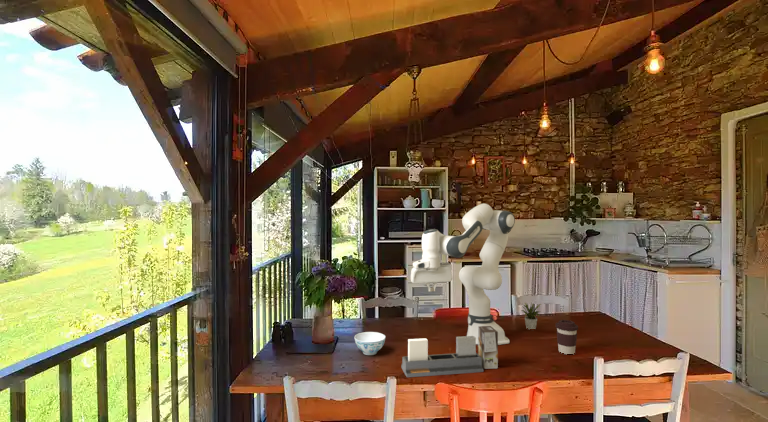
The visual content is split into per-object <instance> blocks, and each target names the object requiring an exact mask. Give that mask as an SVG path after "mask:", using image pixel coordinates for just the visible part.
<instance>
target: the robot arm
mask: <svg viewBox="0 0 768 422" xmlns="http://www.w3.org/2000/svg"><path fill="white" fill-rule="evenodd" d="M515 222H516V218H515V216H514V214H513V212H511V211H508V210H496V209H495V210H493V208H492V206H490V205H489V204H488V203H480V204H478V205H476V206H474V207H472V208H471V209H470V210H469V211H468V212H466V213H465V214H464V215H463V217H462V219H461V224H462V227H463V228H464V232H463V233H462V234H460V235H456V236H455V235H446V234H443V233H442V232H440V231H439V230H438V229H436V228H433V229H432V228H431V229H426V230H424V231H423V233H422V236H421V250H422V253H421V259H419V260H416V261H414V262H412V268H411V271H410V282H411V283H412V284H414V285H417V284H425V285H426V287H427V291H428V293H434V292H436V287H437V286H438V283H444V282H445V283H448V282H451V281H452V280H453V273H452V270H453V266H452V264H451V263H450V262H447V261H446V262H441V255H443V256H449V257H453V258H459V259H460V258H462V257H463V256H465V254H466V253H467V251H468V249H469V248H470V246H471V245H472V243H473V242H474V241H475V240H476V239H477V238H478V237H479V235H480V234H481V233H482V231H483V230H488V231H489V235H488V236H487V238H486V240H485V242H484V244H483V246H482V248H481V249H480V252H479V258H480V260H481V262H482V263H481V266H474V265H467V266H466V265H465V266H463V267H462V268H461V269H459V273H458V279H459V281H460V282H461V284H462V285H463V286H464V288H465V291H466V294H467V298H468V313H467V324H468V325H467V326H468V327H467V332H466V336H474V337H476V345H478V326H491V327H492V328H494V329H495V330H496V331H497V332H498V346H500V345H506V344H510V339H509V338H508V337H507V336H506V333H505V331H504V329H503V328H502V327H501V326H500V325H499V324H498V323H496V321H497V319H498V317H497V316H496V315H493V314H491V299H490V298H489V296H488V295H487V294H486V292H485V290H486V291H494V290H495V291H496V290H498V289H499V288H501V286H502V283H503V276H502V275H501V273H500V270H499V264H500V261H501V259H502V257H503V255H504V252H505V250H506V247H507V245H508V240H509V233H510V232H511V230H512V229H513V227H514V226H515ZM431 284H433V286H432V287H430V285H431Z"/></svg>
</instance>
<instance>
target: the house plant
mask: <svg viewBox="0 0 768 422" xmlns="http://www.w3.org/2000/svg"><path fill="white" fill-rule="evenodd" d="M534 304H535V303H533V302H530V305H531V306H530V307H529V304H528V303H527V302H526V301H525V302H524V304H523V305H521V306H522V307H521V308H523V309H522V310H521V312H522V313H524V323H525V328H526V329H527V328H528V329H527V330H530V329H535V330H536V329H537V322H538V317H540V312H541V311H540V310H538V308H539V307H540V306H541V305H542V304H541V303H540V304H537V306H536V307H535V308H534ZM537 316H538V317H537Z"/></svg>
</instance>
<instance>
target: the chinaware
mask: <svg viewBox="0 0 768 422" xmlns="http://www.w3.org/2000/svg"><path fill="white" fill-rule="evenodd" d="M385 341H386V335H385V334H383V333H381V332H378V331H365V332H359V333H357V334H355V335H354V342H355V345H356V346H357V348H358V349H359V350H360V351H361V352H362V354H363V355H366V356H374V355H376V354H377V353H378V351H379V350H381V349H382V348H383V346H384V344H385V343H386V342H385Z"/></svg>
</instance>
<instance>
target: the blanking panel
mask: <svg viewBox="0 0 768 422" xmlns="http://www.w3.org/2000/svg"><path fill="white" fill-rule="evenodd" d="M428 349H429V341H428V339H427V338H408V339H407V356H408V361H420V360H428V355H429V353H428V352H429V350H428Z"/></svg>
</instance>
